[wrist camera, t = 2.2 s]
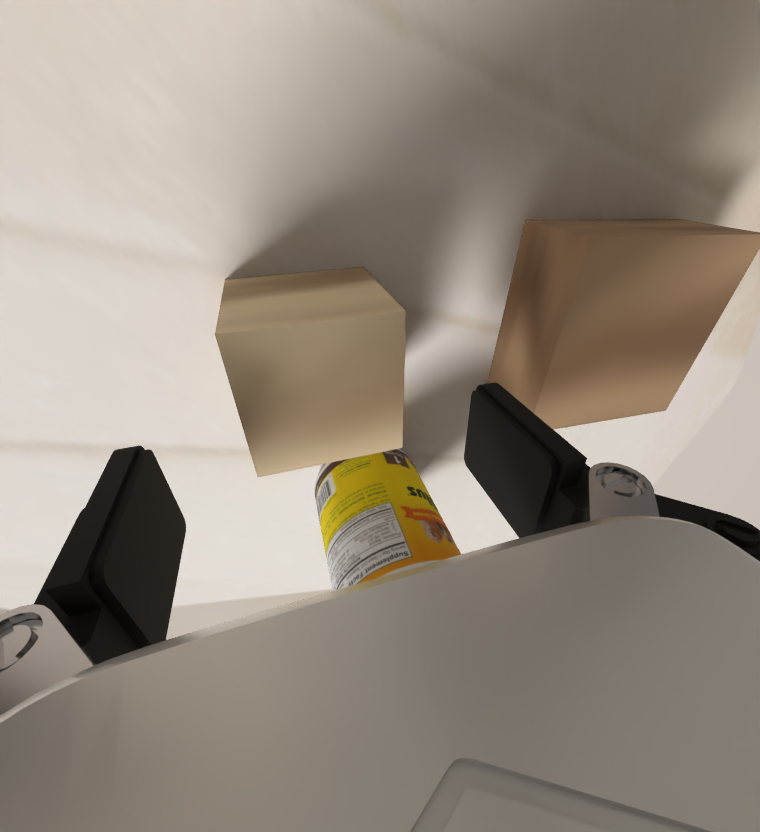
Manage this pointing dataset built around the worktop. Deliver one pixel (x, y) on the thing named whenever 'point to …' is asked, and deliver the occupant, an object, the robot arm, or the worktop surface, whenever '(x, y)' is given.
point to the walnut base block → (613, 313)
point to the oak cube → (314, 366)
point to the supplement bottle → (378, 518)
